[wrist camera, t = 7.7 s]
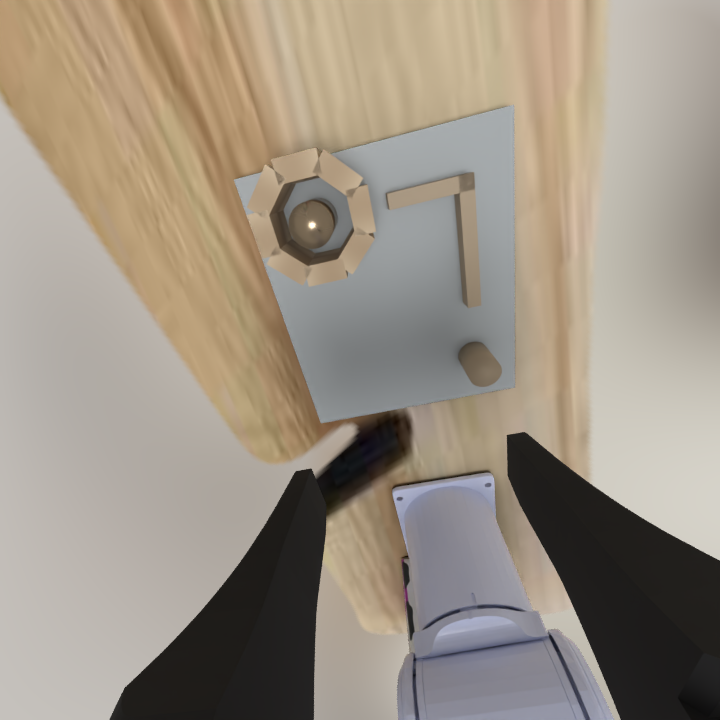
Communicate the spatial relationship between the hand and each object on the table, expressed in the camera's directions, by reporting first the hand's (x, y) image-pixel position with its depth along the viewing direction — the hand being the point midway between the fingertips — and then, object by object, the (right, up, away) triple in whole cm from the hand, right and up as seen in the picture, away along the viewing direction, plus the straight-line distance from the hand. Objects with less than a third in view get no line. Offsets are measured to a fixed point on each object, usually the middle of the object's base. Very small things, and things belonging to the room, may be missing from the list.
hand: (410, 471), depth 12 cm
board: (0, +8, +7) cm, 11 cm away
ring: (-4, +11, +4) cm, 13 cm away
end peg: (-4, +11, +4) cm, 13 cm away
